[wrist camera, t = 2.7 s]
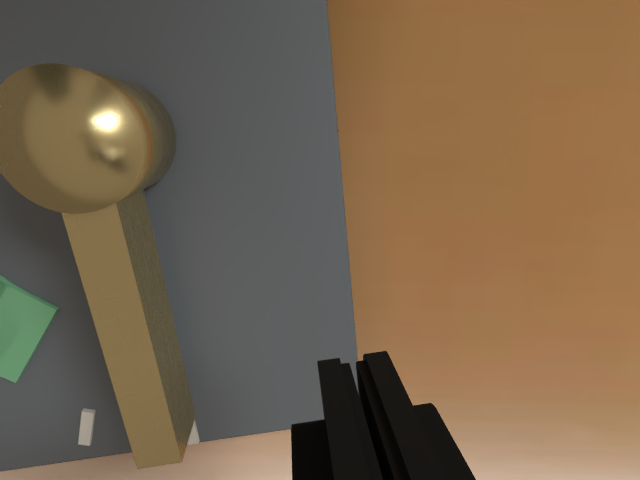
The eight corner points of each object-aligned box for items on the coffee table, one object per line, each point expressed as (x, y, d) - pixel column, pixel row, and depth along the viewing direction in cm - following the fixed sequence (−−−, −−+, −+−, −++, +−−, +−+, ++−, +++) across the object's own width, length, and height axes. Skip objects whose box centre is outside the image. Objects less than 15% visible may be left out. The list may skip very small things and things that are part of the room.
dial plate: (-322, -148, 13) (-410, -186, 11) (304, -190, 14) (307, -232, 12) (-46, 455, 20) (-75, 485, 18) (357, 397, 21) (363, 421, 19)
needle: (46, 84, 14) (-37, 71, 10) (163, 72, 14) (121, 56, 11) (137, 407, 18) (100, 480, 14) (227, 394, 18) (213, 463, 14)
